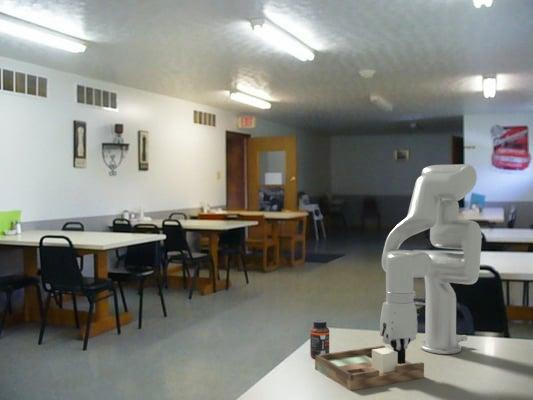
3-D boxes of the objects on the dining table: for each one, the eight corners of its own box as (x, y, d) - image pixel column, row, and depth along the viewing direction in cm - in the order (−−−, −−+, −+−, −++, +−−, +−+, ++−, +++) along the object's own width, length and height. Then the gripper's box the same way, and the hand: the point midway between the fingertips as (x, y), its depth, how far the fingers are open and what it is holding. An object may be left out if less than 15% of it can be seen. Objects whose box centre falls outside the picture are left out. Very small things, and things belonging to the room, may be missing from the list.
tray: (383, 358, 173) (383, 345, 173) (423, 377, 156) (424, 363, 155) (315, 368, 163) (315, 355, 163) (350, 390, 146) (350, 375, 146)
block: (386, 364, 159) (386, 347, 159) (397, 370, 154) (397, 352, 154) (371, 367, 157) (371, 349, 157) (382, 372, 152) (382, 354, 152)
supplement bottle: (328, 360, 171) (328, 323, 171) (309, 359, 172) (309, 322, 172) (330, 354, 177) (330, 319, 177) (311, 353, 178) (311, 318, 178)
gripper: (412, 293, 164) (411, 355, 164) (369, 297, 157) (369, 362, 158) (429, 297, 157) (429, 362, 157) (385, 302, 151) (385, 370, 151)
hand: (399, 362), depth 157 cm, fingers closed
